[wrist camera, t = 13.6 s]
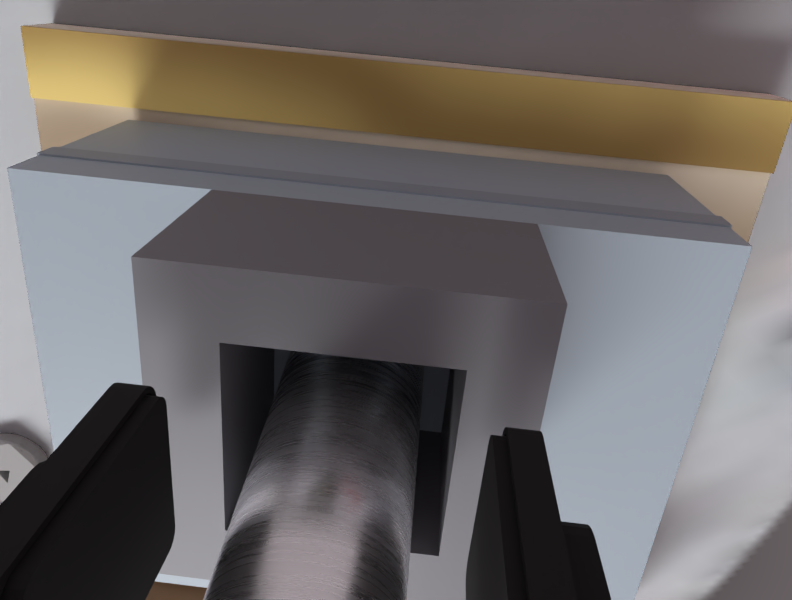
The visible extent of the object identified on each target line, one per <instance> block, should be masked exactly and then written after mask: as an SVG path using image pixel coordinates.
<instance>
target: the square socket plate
mask: <svg viewBox="0 0 792 600" xmlns="http://www.w3.org/2000/svg"><path fill="white" fill-rule="evenodd" d="M7 170H8V176H9V182H10V188H11V194H12V200H13V206H14V212H15V219H16V225H17V231H18V237H19V243H20V249H21V255H22V261H23V267H24V273H25V280H26V286H27V292H28V298H29V304H30V310H31V316H32V322H33V328H34V334H35V341H36V347H37V353H38V359H39V365H40V371H41V377H42V383H43V389H44V395H45V402H46V408H47V414H48V420H49V426H50V432H51V438H52V444H53V450H54V451H55V450H56V449H57V447H58V446H59V445H60V444H61V443H62V442H63V440H64V439H65V438H66V437H67V436H68V435H69V433H70V432H71V431H72V430H73V429H74V428H75V426H76V425H77V424H78V423H79V422H80V421H81V419H82V418H83V417H84V416H85V415H86V414H87V412H88V411H89V410H90V409H91V408H92V407H93V405H94V404H95V403H96V402H97V401H98V400H99V399H100V397H101V396H102V395H103V394H104V393H105V392H106V390H107V389H108V388H109V387H110V386H111V385H112V384H113V383H117V382H119V383H128V384H136V385H145V386H151V387H153V388H154V390H155V392H156V396H159V397H163V398H165V400H166V405H167V417H168V431H169V445H170V459H171V473H172V487H173V500H174V514H175V535H174V540H173V544H172V547H171V549H170V552H169V554H168V556H167V558H166V560H165V562H164V564H163V566H162V568H161V570H160V572H159V574H158V576H157V578H156V580H155V581H156V582H164V583H172V584H180V585H188V586H196V587H204V588H207V587H208V584H209V581H210V579H211V576H212V573H213V570H214V567H215V564H216V562H217V559H218V556H219V553H220V550H221V547H222V545H223V542H224V539H225V536H226V533H227V530H228V527H229V525H230V522H231V519H232V516H233V513H234V510H235V508H236V505H237V502H238V499H239V496H240V493H241V491H242V488H243V485H244V482H245V479H246V476H247V473H248V471H249V468H250V465H251V462H252V459H253V456H254V454H255V451H256V448H257V445H258V442H259V439H260V437H261V434H262V431H263V428H264V425H265V422H266V419H267V417H268V414H269V411H270V408H271V405H272V402H273V400H274V397H275V394H276V391H277V388H278V385H279V383H280V380H281V377H282V374H283V371H284V368H285V365H286V363H287V360H288V357H289V354H290V351H299V352H308V353H317V354H325V355H334V356H343V357H352V358H361V359H370V360H379V361H388V362H397V363H405V364H414V365H423V366H424V379H423V393H422V406H421V419H420V432H419V445H418V458H417V471H416V484H415V497H414V510H413V523H412V537H411V550H410V563H409V576H408V589H407V600H466V569H467V561H468V555H469V549H470V544H471V538H472V533H473V527H474V521H475V516H476V510H477V505H478V499H479V493H480V488H481V482H482V477H483V471H484V465H485V460H486V454H487V449H488V443H489V438H490V436H491V435H498V436H502V434H503V431H504V428H505V427H511V428H520V429H528V430H537V431H541V432H542V434H543V437H544V442H545V447H546V452H547V457H548V461H549V466H550V471H551V476H552V480H553V485H554V490H555V495H556V500H557V504H558V509H559V514H560V519H561V521H562V522H571V523H579V524H588V525H589V526H590V527H591V529H592V531H593V534H594V536H595V540H596V544H597V547H598V551H599V555H600V559H601V562H602V566H603V570H604V574H605V578H606V581H607V585H608V589H609V593H610V596H611V600H634V599H635V596H636V593H637V590H638V587H639V584H640V581H641V578H642V575H643V572H644V569H645V566H646V563H647V560H648V557H649V554H650V551H651V548H652V545H653V542H654V539H655V536H656V533H657V530H658V527H659V524H660V521H661V518H662V515H663V512H664V509H665V506H666V503H667V500H668V497H669V494H670V491H671V488H672V485H673V482H674V479H675V476H676V473H677V470H678V467H679V464H680V461H681V458H682V455H683V452H684V449H685V446H686V443H687V440H688V437H689V434H690V431H691V428H692V425H693V422H694V419H695V416H696V413H697V410H698V407H699V404H700V401H701V398H702V395H703V392H704V389H705V387H706V384H707V381H708V378H709V375H710V372H711V369H712V366H713V363H714V360H715V357H716V354H717V351H718V348H719V345H720V342H721V339H722V336H723V333H724V330H725V327H726V324H727V321H728V318H729V315H730V312H731V309H732V306H733V303H734V300H735V297H736V294H737V291H738V288H739V285H740V282H741V279H742V276H743V273H744V270H745V267H746V264H747V261H748V258H749V255H750V252H751V249H752V246H751V245H750V244H749V243H747V242H746V241H745V240H744V239H743V238H742V237H740V236H739V235H738V234H737V233H736V232H734V231H733V230H732V225H731V224H730V223H729V222H728V221H726V220H725V219H724V218H723V217H722V216H716V215H714V214H713V213H712V212H711V211H710V210H708V209H707V208H706V207H705V206H704V205H703V204H701V203H700V202H699V201H698V200H697V199H695V198H694V197H693V196H692V195H691V194H690V193H688V192H687V191H686V190H685V189H684V188H682V187H681V186H680V185H679V184H678V183H677V182H675V181H674V180H673V179H672V178H671V177H670V176H668V175H662V174H653V173H643V172H633V171H623V170H614V169H604V168H594V167H584V166H575V165H565V164H555V163H545V162H536V161H526V160H516V159H506V158H497V157H487V156H477V155H467V154H458V153H448V152H438V151H429V150H419V149H409V148H399V147H390V146H380V145H370V144H360V143H351V142H341V141H331V140H321V139H312V138H302V137H292V136H282V135H273V134H263V133H253V132H243V131H234V130H224V129H214V128H204V127H195V126H185V125H175V124H165V123H156V122H146V121H136V120H126V121H124V122H121V123H119V124H116V125H114V126H111V127H109V128H106V129H104V130H101V131H99V132H96V133H94V134H91V135H89V136H86V137H83V138H81V139H78V140H76V141H73V142H71V143H68V144H66V145H63V146H61V147H50V148H48V149H45V150H43V151H40V152H38V153H37V156H36V157H33V158H31V159H28V160H26V161H23V162H21V163H18V164H16V165H13V166H11V167H8V168H7Z"/></svg>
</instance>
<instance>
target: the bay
mask: <svg viewBox="0 0 792 600" xmlns="http://www.w3.org/2000/svg"><path fill="white" fill-rule="evenodd" d="M21 32H22V39H23V46H24V53H25V60H26V67H27V74H28V81H29V88H30V95H31V98H34V101H35V108H36V115H37V123H38V130H39V137H40V144H41V151H43V150H45V149H48V148H50V147H61V146H63V145H66V144H68V143H71V142H73V141H76V140H78V139H81V138H83V137H86V136H89V135H91V134H94V133H96V132H99V131H101V130H104V129H106V128H109V127H111V126H114V125H116V124H119V123H121V122H124V121H126V120H136V121H146V122H156V123H165V124H175V125H185V126H195V127H204V128H214V129H224V130H234V131H243V132H253V133H263V134H273V135H282V136H292V137H302V138H312V139H321V140H331V141H341V142H351V143H360V144H370V145H380V146H390V147H399V148H409V149H419V150H429V151H438V152H448V153H458V154H467V155H477V156H487V157H497V158H506V159H516V160H526V161H536V162H545V163H555V164H565V165H575V166H584V167H594V168H604V169H614V170H623V171H633V172H643V173H653V174H662V175H668V176H670V177H671V178H672V179H673V180H674V181H675V182H677V183H678V184H679V185H680V186H681V187H682V188H684V189H685V190H686V191H687V192H688V193H690V194H691V195H692V196H693V197H694V198H695V199H697V200H698V201H699V202H700V203H701V204H703V205H704V206H705V207H706V208H707V209H708V210H710V211H711V212H712V213H713V214H714V215H716V216H722V217H723V218H724V219H725V220H726V221H728V222H729V223H730V224H731V225H732V230H733V231H734V232H736V233H737V234H738V235H739V236H740V237H742V238H743V239H744V240H745V241H746V242H747V243H748V241H749V238H750V235H751V232H752V229H753V226H754V223H755V220H756V217H757V214H758V210H759V207H760V204H761V201H762V198H763V195H764V192H765V189H766V186H767V183H768V180H769V177H770V174H771V173H773V174H774V171H775V168H776V165H777V162H778V159H779V156H780V153H781V150H782V147H783V144H784V141H785V138H786V135H787V132H788V129H789V126H790V123H791V120H792V101H791V100H788V99H785V98H781V97H778V96H775V95H772V94H764V93H754V92H744V91H734V90H724V89H714V88H704V87H693V86H683V85H673V84H663V83H653V82H643V81H632V80H622V79H612V78H602V77H592V76H582V75H572V74H561V73H551V72H541V71H531V70H521V69H511V68H501V67H490V66H480V65H470V64H460V63H450V62H440V61H429V60H419V59H409V58H399V57H389V56H379V55H369V54H358V53H348V52H338V51H328V50H318V49H308V48H297V47H287V46H277V45H267V44H257V43H247V42H237V41H226V40H216V39H206V38H196V37H186V36H176V35H165V34H155V33H145V32H135V31H125V30H115V29H105V28H94V27H84V26H74V25H64V24H54V23H50V24H37V25H25V26H21ZM206 590H207V588H204V587H196V586H188V585H180V584H172V583H164V582H156V581H155V582H154V584H153V586H152V588H151V590H150V592H149V594H148V596H147V598H146V600H203V599H204V596H205V593H206Z"/></svg>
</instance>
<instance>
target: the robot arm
mask: <svg viewBox="0 0 792 600" xmlns="http://www.w3.org/2000/svg"><path fill="white" fill-rule="evenodd" d="M174 535H175V514H174V500H173V487H172V473H171V459H170V445H169V431H168V417H167V405H166V400H165V398H163V397H159V396H156V392H155V390H154V388H153V387H151V386H145V385H136V384H128V383H119V382H117V383H113V384H112V385H111V386H110V387H109V388H108V389H107V390H106V392H105V393H104V394H103V395H102V396H101V397H100V399H99V400H98V401H97V402H96V403H95V404H94V405H93V407H92V408H91V409H90V410H89V411H88V412H87V414H86V415H85V416H84V417H83V418H82V419H81V421H80V422H79V423H78V424H77V425H76V426H75V428H74V429H73V430H72V431H71V432H70V433H69V435H68V436H67V437H66V438H65V439H64V440H63V442H62V443H61V444H60V445H59V446H58V447H57V449H56V450H55V451H54V452H53V453H52V454H51V455H50V457H49V458H48V459H47V460H46V461H43V462H40V463H38V464H37V465H36V466H35V467H34V468H33V469H32V470H31V471H30V472H29V473H28V474H27V475H26V476H25V477H24V479H23V480H22V481H21V482H20V483H19V484H18V485H17V487H16V488H15V489H14V490H13V491H12V492H11V493H10V495H9V496H8V497H7V498H6V499H5V500H4V501H3V503H2V504H1V505H0V600H146V598H147V596H148V594H149V592H150V590H151V588H152V586H153V584H154V582H155V580H156V578H157V576H158V574H159V572H160V570H161V568H162V566H163V564H164V562H165V560H166V558H167V556H168V554H169V552H170V549H171V547H172V544H173V540H174ZM466 600H611V596H610V593H609V589H608V585H607V581H606V578H605V574H604V570H603V566H602V562H601V559H600V555H599V551H598V547H597V544H596V540H595V536H594V534H593V531H592V529H591V527H590V526H589V525H588V524H579V523H571V522H562V521H561V519H560V514H559V509H558V504H557V500H556V495H555V490H554V485H553V480H552V476H551V471H550V466H549V461H548V457H547V452H546V447H545V442H544V437H543V434H542V432H541V431H537V430H528V429H520V428H511V427H505V428H504V431H503V434H502V436H498V435H491V436H490V438H489V443H488V449H487V454H486V460H485V465H484V471H483V477H482V482H481V488H480V493H479V499H478V505H477V510H476V516H475V521H474V527H473V533H472V538H471V544H470V549H469V555H468V561H467V569H466Z"/></svg>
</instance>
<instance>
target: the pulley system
mask: <svg viewBox="0 0 792 600" xmlns="http://www.w3.org/2000/svg"><path fill="white" fill-rule="evenodd" d="M47 459H48V457H47V455H46V453H45V452H44V451H43V450H42V449H41V447H39V446H38V445H37V444H36V443H34V442H32V441H31V440H29V439H27V438H25V437H23V436H20V435H16V434H9V433H0V502H3V501H4V500H5V499H6V498H7V497H8V496H9V495H10V493H11V492H12V491H13V490H14V489H15V488H16V487H17V485H18V484H19V483H20V482H21V481H22V480H23V479H24V477H25V476H26V475H27V474H28V473H29V472H30V471H31V470H32V469H33V468H34V467H35V466H36V465H37V464H38V463H40V462H43V461H46V460H47Z"/></svg>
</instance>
